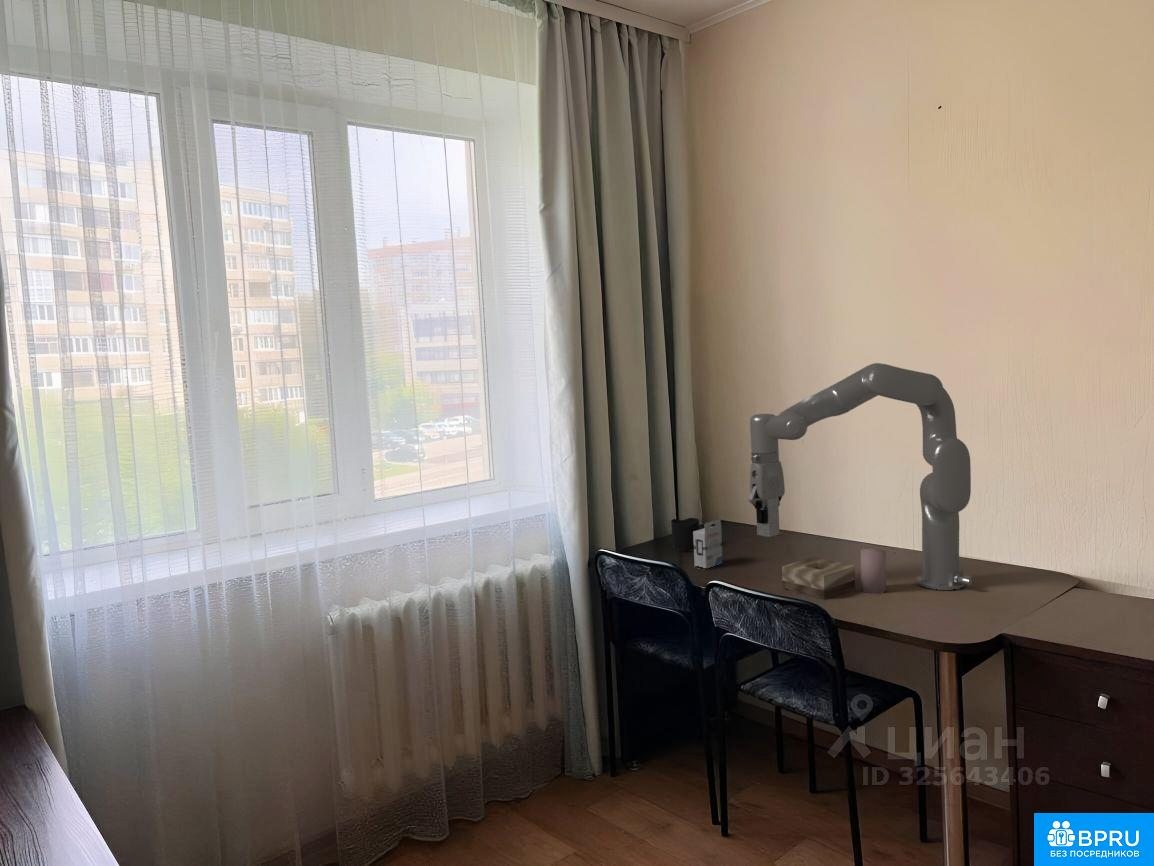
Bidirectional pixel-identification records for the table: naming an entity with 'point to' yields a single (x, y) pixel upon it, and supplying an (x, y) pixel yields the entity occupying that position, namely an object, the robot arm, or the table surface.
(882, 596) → the table surface
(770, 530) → the square peg
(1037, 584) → the table surface
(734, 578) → the table surface
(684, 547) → the pen holder
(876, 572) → the round peg
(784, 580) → the bore block
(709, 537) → the ink box
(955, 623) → the table surface
